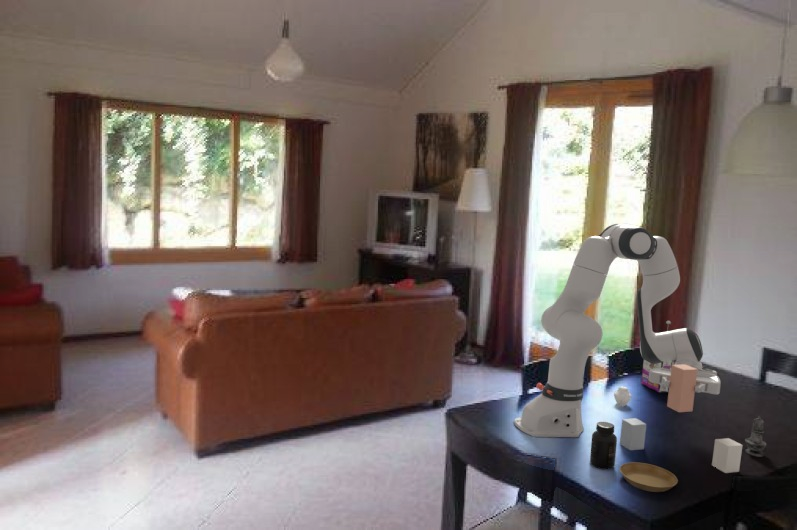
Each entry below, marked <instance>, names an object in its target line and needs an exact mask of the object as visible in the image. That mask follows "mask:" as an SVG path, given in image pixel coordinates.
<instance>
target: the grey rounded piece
mask: <svg viewBox="0 0 797 530" xmlns="http://www.w3.org/2000/svg"><path fill="white" fill-rule="evenodd" d="M613 396H614V400H615V402H616V405H618V406H621V407H626V406H627V405H628V404H629V403H630V401H631V400H632V394H631V393H630V391H629V388H628V387H626V386H619V387H618V389H617V390H616V391H615V392H614V393H613Z"/></svg>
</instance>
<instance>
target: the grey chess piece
mask: <svg viewBox="0 0 797 530" xmlns="http://www.w3.org/2000/svg"><path fill="white" fill-rule="evenodd" d="M764 424H765V421H764V420H763V419H762V418H761V416H760V415H759V416H758V417H757V418H754V419H753V422H752V427H751V428H750V430H751V433H750V437H748V438H745V439H744V441H745V445H746V447H747V449H744V452H745V453H746V454H747V455H749V456H752V457H753V456H754V457H761V458H762V457H764V456H765V453H764V452H762V451H764V450H765V449H766V446H767V443H766V442H765V440H764V441H763V435H764V433H765V430H764Z"/></svg>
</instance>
